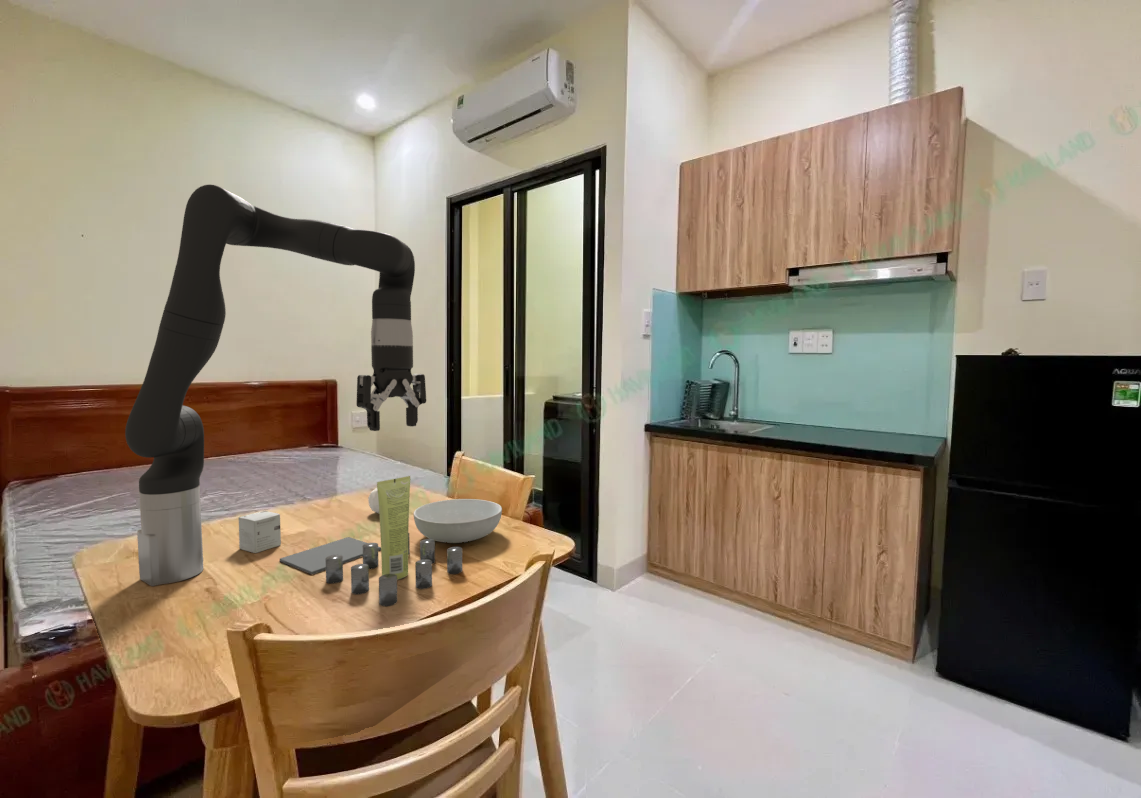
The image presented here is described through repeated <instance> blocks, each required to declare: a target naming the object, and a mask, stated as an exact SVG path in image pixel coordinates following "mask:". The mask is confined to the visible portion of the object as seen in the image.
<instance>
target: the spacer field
mask: <svg viewBox="0 0 1141 798" xmlns="http://www.w3.org/2000/svg"><path fill="white" fill-rule="evenodd" d="M435 545H436V541H435V540H433V539H429V538H426V539H422V540H420V541H419V558H420V559H419V560H417V561H416V562H415V564H414V565H415V567H414V568H415V569H414V570H415V588H416V589H418V590H425V589H426V590H427V589H429V588H431V587H432V586H433V564H435V562H436V551H435V550H436V549H435V548H436V546H435ZM410 546H411V545H410V532H408V556H409V555H410ZM362 547H363V557H362V563H358V564H354V565H352V566H351V567H350V584H351V585H350V586H351V587H350V588H351V589H350V590H351V594H353V595H363V594H366V593H367V592H369V591H370V580H369V579H370V578H369V577H370V576H369V575H370V573H369V572H370V571H369V570H373V569H376V568H378V567H379V551H378V547H379V543H378V542H366V544H364V545H363V546H362ZM325 560H326V570H325V583H327V584H328V585H330V584H331V585H333V584H337V583H340V582H342V581H343V580H344V563H343V556H342V555H331V556H328V557H326V559H325ZM446 565H447V566H446V570H447V571H446V573H448V574H449V575H458V574H461V573H462V572H463V548H462V547H461V546H452V547H449V548H447V549H446ZM378 598H379V599H378V603H379V605H380V606H381V607H391V606H394V605H396V604H397V603H398V579H397V575H395V574H385V575H382V574H381V576H379V577H378Z"/></svg>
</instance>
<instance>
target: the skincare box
mask: <svg viewBox="0 0 1141 798" xmlns="http://www.w3.org/2000/svg"><path fill="white" fill-rule="evenodd" d="M281 533H282V532H281V514H280V513H278V512H272V511H268V510H262V511H258V512H254V513H250V514H247V515H243V516H239V517H238V540H239V541H238V543H239V545H238V546H239V549H240V550H243V551H245V552H249V553H250V552H251V553H252V554H257V553H261V552H263V551H266V550H270V549H273V548H276V547H280V546H281V545H282V537H281V536H282V534H281Z"/></svg>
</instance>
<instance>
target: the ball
mask: <svg viewBox="0 0 1141 798" xmlns="http://www.w3.org/2000/svg"><path fill="white" fill-rule="evenodd" d="M367 499H368V505H369V508H370V510H372V511H373V512H375V513H376V514H379V500H378V490H377V487H375V488H374V489H373V490H372V491H370V493H369V496H368V497H367ZM379 515H380V514H379Z"/></svg>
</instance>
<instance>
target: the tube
mask: <svg viewBox="0 0 1141 798" xmlns="http://www.w3.org/2000/svg"><path fill="white" fill-rule="evenodd" d="M376 488H377V490H378V500H379V527H380V528H379V529H380V530H379V531H380V547H381V550H380V551H381V552H380V554H381V555H380V557H381V576H382V575H385V574H395V575H397V580H401V579H404V578H405V577H407V576H408V574H409V555H408V533H409V527H410V526H409V524H410V523H409V521H410V495H411V493H410V491H411V475H407V476H402V477H396V478H392V479H386V480H379V481H376Z"/></svg>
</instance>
